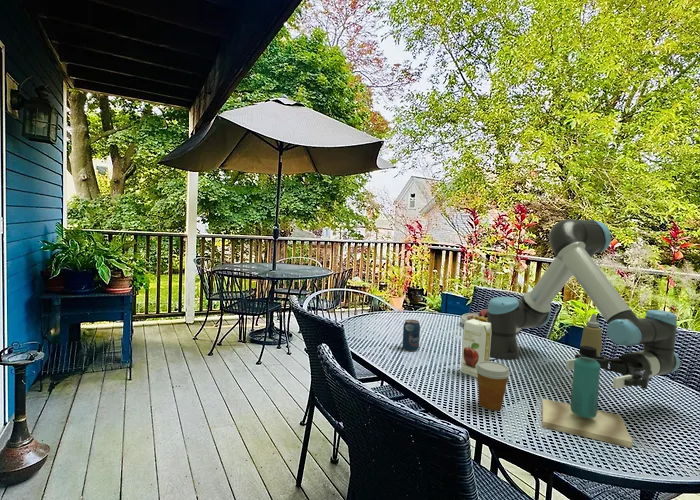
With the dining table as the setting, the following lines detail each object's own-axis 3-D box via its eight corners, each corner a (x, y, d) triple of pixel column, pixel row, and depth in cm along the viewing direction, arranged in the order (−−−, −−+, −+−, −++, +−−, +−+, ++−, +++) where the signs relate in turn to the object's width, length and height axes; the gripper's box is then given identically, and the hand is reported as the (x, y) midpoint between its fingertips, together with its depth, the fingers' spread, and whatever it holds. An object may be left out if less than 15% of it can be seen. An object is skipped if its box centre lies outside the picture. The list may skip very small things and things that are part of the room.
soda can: (411, 353, 163) (413, 324, 162) (398, 348, 169) (400, 320, 168) (422, 349, 168) (423, 321, 167) (409, 345, 173) (411, 318, 172)
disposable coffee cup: (468, 398, 123) (471, 360, 122) (498, 398, 124) (501, 360, 123) (481, 413, 114) (484, 372, 113) (513, 413, 114) (516, 372, 113)
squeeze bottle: (598, 353, 174) (602, 313, 173) (603, 359, 166) (607, 317, 165) (577, 351, 177) (581, 310, 175) (581, 356, 169) (585, 314, 168)
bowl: (531, 338, 194) (533, 322, 194) (470, 335, 195) (471, 319, 194) (508, 322, 224) (509, 309, 224) (454, 320, 225) (455, 306, 224)
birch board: (542, 426, 107) (542, 421, 107) (542, 403, 122) (542, 398, 122) (631, 447, 99) (632, 442, 99) (620, 420, 113) (620, 414, 113)
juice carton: (468, 367, 149) (472, 317, 148) (490, 374, 143) (494, 322, 142) (458, 372, 144) (461, 320, 143) (480, 380, 138) (484, 326, 137)
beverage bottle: (600, 425, 106) (607, 352, 105) (573, 421, 108) (579, 349, 106) (591, 414, 113) (597, 344, 111) (565, 410, 114) (571, 342, 113)
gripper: (685, 395, 107) (636, 406, 98) (595, 363, 130) (549, 370, 121) (688, 367, 107) (639, 377, 98) (597, 340, 129) (551, 346, 121)
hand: (589, 373), depth 110 cm, fingers open, 13 cm apart
